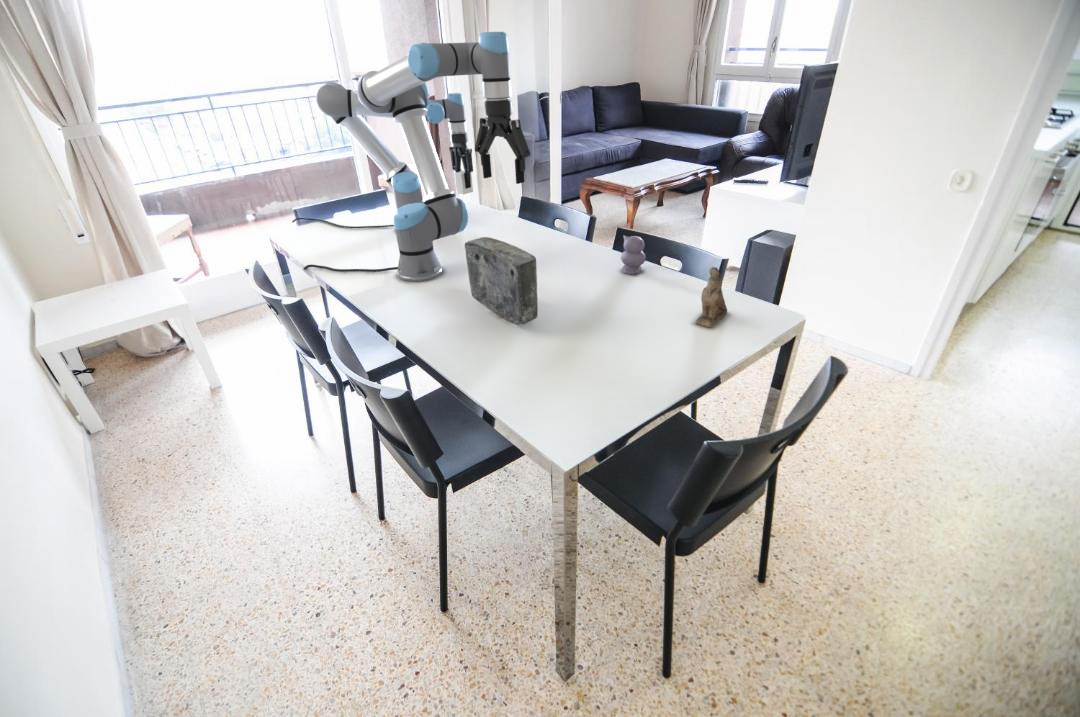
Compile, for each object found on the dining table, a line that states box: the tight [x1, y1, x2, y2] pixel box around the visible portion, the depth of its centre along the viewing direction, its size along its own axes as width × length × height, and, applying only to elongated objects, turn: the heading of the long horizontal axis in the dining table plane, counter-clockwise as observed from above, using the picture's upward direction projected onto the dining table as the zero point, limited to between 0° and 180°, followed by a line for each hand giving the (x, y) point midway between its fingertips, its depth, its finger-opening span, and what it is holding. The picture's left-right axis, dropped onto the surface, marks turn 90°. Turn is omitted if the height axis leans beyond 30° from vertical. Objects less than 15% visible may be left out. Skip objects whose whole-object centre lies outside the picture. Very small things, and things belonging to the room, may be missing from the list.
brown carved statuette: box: [695, 266, 728, 328], centre depth 135 cm, size 12×6×18 cm, turn 136°
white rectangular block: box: [454, 170, 474, 195], centre depth 231 cm, size 5×6×9 cm
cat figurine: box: [620, 234, 646, 275], centre depth 168 cm, size 9×8×12 cm
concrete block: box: [464, 236, 539, 326], centre depth 141 cm, size 27×9×20 cm, turn 36°
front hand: (503, 180), depth 147 cm, fingers open, 13 cm apart
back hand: (464, 186), depth 232 cm, fingers closed on white rectangular block, 5 cm apart
